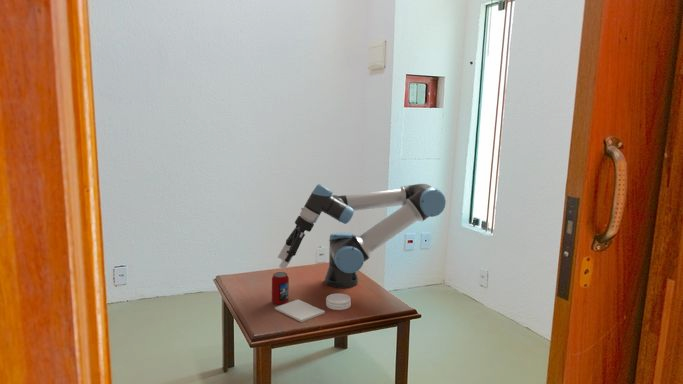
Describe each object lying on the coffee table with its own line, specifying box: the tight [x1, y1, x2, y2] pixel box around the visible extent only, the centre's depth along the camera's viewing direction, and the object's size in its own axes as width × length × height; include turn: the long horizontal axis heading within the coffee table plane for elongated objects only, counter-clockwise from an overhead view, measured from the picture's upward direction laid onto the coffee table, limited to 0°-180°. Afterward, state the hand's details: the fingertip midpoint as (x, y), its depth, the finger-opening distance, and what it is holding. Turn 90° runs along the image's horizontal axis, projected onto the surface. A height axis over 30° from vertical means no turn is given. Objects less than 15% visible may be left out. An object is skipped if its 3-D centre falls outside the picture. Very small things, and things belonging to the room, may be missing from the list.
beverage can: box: [271, 271, 290, 306], centre depth 197 cm, size 7×7×12 cm
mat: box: [274, 299, 326, 323], centre depth 190 cm, size 16×12×1 cm
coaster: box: [325, 293, 352, 311], centre depth 196 cm, size 10×10×4 cm
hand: (281, 263), depth 202 cm, fingers open, 13 cm apart
